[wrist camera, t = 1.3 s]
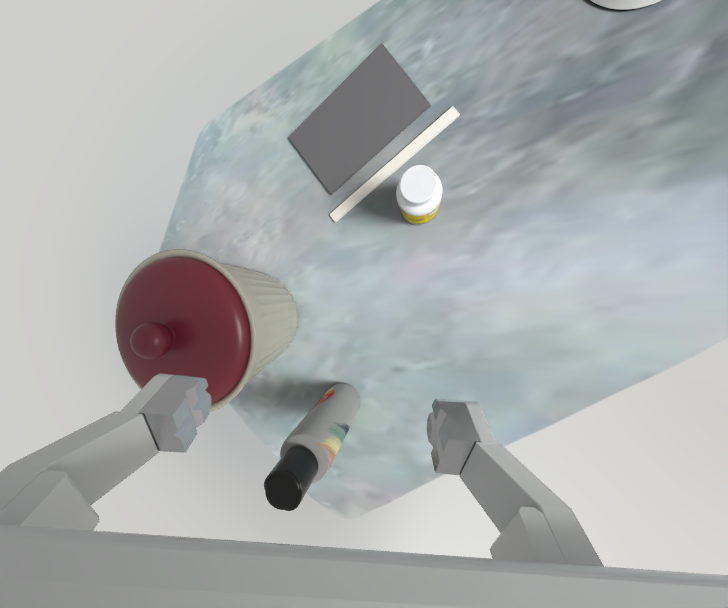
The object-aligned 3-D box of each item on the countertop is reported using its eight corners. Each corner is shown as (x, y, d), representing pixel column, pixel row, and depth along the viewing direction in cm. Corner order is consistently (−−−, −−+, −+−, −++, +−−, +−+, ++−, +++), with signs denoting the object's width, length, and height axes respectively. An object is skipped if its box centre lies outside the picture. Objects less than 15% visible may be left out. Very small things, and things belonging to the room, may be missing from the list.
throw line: (452, 107, 37) (452, 105, 37) (459, 115, 37) (459, 114, 37) (330, 214, 42) (329, 214, 42) (335, 222, 42) (335, 222, 41)
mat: (382, 45, 38) (382, 43, 38) (430, 106, 38) (430, 104, 37) (289, 138, 42) (288, 137, 42) (331, 194, 42) (330, 194, 41)
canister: (201, 294, 48) (35, 305, 27) (282, 238, 44) (157, 203, 23) (251, 385, 47) (119, 465, 27) (337, 337, 43) (259, 390, 23)
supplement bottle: (392, 212, 40) (383, 190, 30) (416, 179, 39) (413, 146, 29) (423, 233, 39) (422, 218, 30) (447, 200, 38) (455, 174, 29)
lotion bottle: (320, 397, 45) (240, 488, 25) (343, 374, 44) (278, 452, 24) (344, 423, 44) (282, 536, 25) (368, 401, 43) (322, 501, 24)
